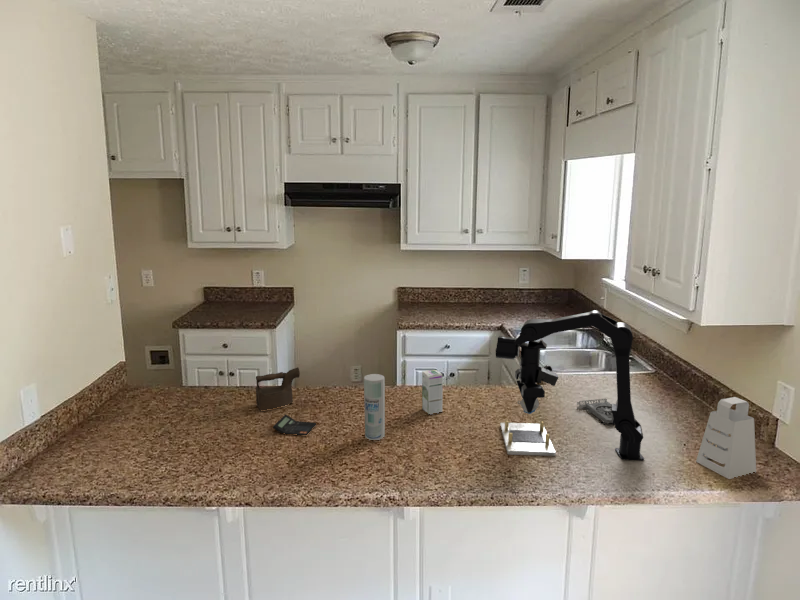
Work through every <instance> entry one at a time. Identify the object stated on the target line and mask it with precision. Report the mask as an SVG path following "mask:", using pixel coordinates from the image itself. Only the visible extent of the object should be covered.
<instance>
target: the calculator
mask: <svg viewBox="0 0 800 600" xmlns="http://www.w3.org/2000/svg"><path fill="white" fill-rule="evenodd" d="M316 423H317V422H311V421H310V422H309V421H300V420H299V421H298V420H295V419H294V418H292V417H290V416H289V415H288V414H284V415H283V416H282V417H281V418H280V419H279V420H278V421H277V422H276V423H275V424H274V425H273V426H272V429H274V430H275V431H277V432H279V433H281V434H282V433H285V434H297V435H307V434H308V433H309V432H310V431H311V429H312V428H313V427H314V426H315V425H316ZM316 426H317V425H316ZM316 426H315V427H316ZM315 427H314V428H315ZM314 428H313V429H314ZM311 432H312V431H311ZM311 432H310V433H311ZM310 433H309V434H310ZM285 434H284V435H285ZM309 434H308V435H309Z"/></svg>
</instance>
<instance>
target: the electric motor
mask: <svg viewBox="0 0 800 600" xmlns="http://www.w3.org/2000/svg"><path fill="white" fill-rule="evenodd" d="M517 404H518V405H520V406H521V408H522V409H523V413H525V414H528V415H531V414H533V413H534V412H535V411H536V410H537V409H539V407H540V400H539V399H538V398H537V399H536V401H535V403H534V406H533V409H532V412H531V413H528V412H527V409H526V406H525V403H524V400H523V398H521V400H517Z"/></svg>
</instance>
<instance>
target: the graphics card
mask: <svg viewBox="0 0 800 600" xmlns="http://www.w3.org/2000/svg"><path fill="white" fill-rule="evenodd" d="M611 404H612V403H611V402H609V401H608V398H598V399H597V398H596V399H588V400H587V399H586V400H579V401H577V402H576V405H578V406H576V410H579V409H580V410H582V409H583V410H586V411H587V412H588V413H589V414H593V415H594V416H595V417H596V418H598V419H599V420H600V421H601V422H603V423H604V424H610V423H611V424H612V407H611Z"/></svg>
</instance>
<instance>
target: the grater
mask: <svg viewBox="0 0 800 600" xmlns="http://www.w3.org/2000/svg"><path fill="white" fill-rule="evenodd" d="M733 405H735V409H732V406H733ZM749 409H750V404H749V402H748V401H746V400H744V399H741V398H739V397H737V396H733V397H727V398H721V399H720V400H719V401H718V403H717V408H716V410H714V411H710V414H709V416H708V420H707V423H706V427H705V430H704V434H703V436H702V439H701V443H700V446H699V450H698V454H697V456H696V460H695V462H696V463H698V464H700V465H701V466H703V467H705V468H707V469H709V470H711V471H713V472H715V473H717V474H718V475H720V476H722V477H724V478H726V479H728V480H731V479H735V478H734V477H736V478H739V477H738V476H740V477H743V476H742V475H744V476H747V475H746V474H748V475H750V474H749V473H751V474H754V473H753V472H755V473H757V461H756V460H757V459H756V457H757V456H756V435H755V431H756V430H755V418H754V417H752V416H750V415H749ZM709 459H711V460H713V461H715V462H717V463H719V464H717V463H715V462H713V461H711V460H709ZM720 464H721V465H724V466H721V465H720Z"/></svg>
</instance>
